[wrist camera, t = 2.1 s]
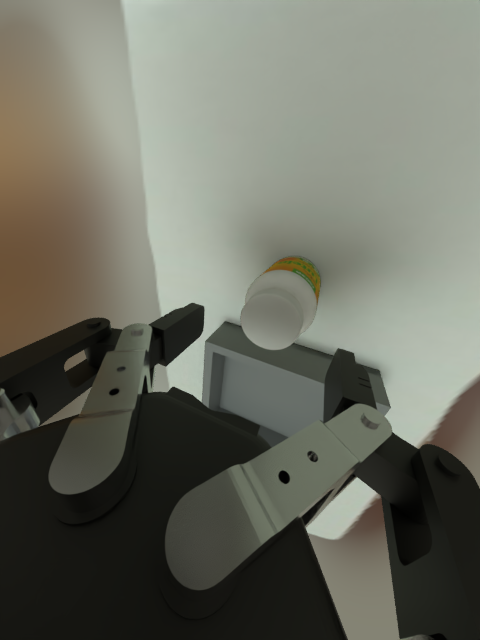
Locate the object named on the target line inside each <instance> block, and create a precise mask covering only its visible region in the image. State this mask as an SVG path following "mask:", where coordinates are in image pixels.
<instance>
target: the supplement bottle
mask: <svg viewBox="0 0 480 640" xmlns="http://www.w3.org/2000/svg"><path fill="white" fill-rule="evenodd" d="M320 286H321V280H320V275H319V272H318V270H317V268H316V267H315V266H314V265H313V264H312V263H311V262H310V261H308V260H307V259H305V258H302V257H298V256H290V257H285V258H283V259H281V260H279V261H277V262H276V263H275V264H273V265H272V266H271V267H270V268H269V269H267V270H266V271H265V272H264V273H263V274H262V275H260V276H259V277H258V278H257V279H256V280H255V281H254V282H253V283H252V284H251V285H250V287H249V289H248V291H247V294H246V298H245V305H244V307H243V309H242V312H241V326H242V329H243V331H244V333H245V334H246V336H247V337H248V338H249V339H250V340H251V341H252V342H253V343H254V344H256V345H258V346H259V347H262V348H265V349H269V350H280V349H284V348H286V347H288V346H290V345H291V344H293V343H294V342H295V341H296V339H297V338H298V336H299V335H300V334H301V333H303V332H304V331H305V330H306V329H308V327H309V326H310V325H311V323H312V322H313V320H314V317H315V314H316V310H317V304H318V298H319V292H320Z"/></svg>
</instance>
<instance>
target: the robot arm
mask: <svg viewBox="0 0 480 640" xmlns="http://www.w3.org/2000/svg"><path fill="white" fill-rule="evenodd" d="M203 327H204V306H202V305H198V304H195V303H190V304H189V305H187V306H185V307H184V308H179V309H175V310H173V311H172V312H170V313H169V314H166V315H165V316H164V317H161V318H160V319H158V320H156V321H154V322H152V323H151V324H149V325H147V324H141V323H137V324H132V325H129V326H127V327H125V328H124V329H123V330H122V329H114V328H111V325H110V321H109V320H108V319H105V318H91V319H87V320H84V321H82V322H79V323H77V324H75V325H73V326H70V327H68V328H66V329H63V330H61V331H59V332H57V333H55V334H52V335H50V336H48V337H46V338H43V339H41V340H39V341H36V342H34V343H32V344H30V345H27V346H25V347H23V348H21V349H18V350H16V351H14V352H11V353H9V354H7V355H5V356H2V357H0V640H348V639H347V636H346V634H345V631H344V628H343V626H342V623H341V621H340V618H339V615H338V613H337V610H336V607H335V605H334V602H333V599H332V597H331V594H330V591H329V589H328V586H327V584H326V581H325V578H324V576H323V573H322V570H321V568H320V565H319V563H318V560H317V557H316V555H315V552H314V549H313V547H312V544H311V542H310V539H309V536H308V533H307V531H306V527H307V526H308V525H309V524H310V523H311V522H312V521H313V520H314V519H315V518H316V517H317V516H318V515H319V514H320V513H321V512H322V511H323V510H324V509H325V507H326V506H327V505H328V504H329V503H330V502H331V501H332V500H333V499H335V498H336V497H337V496H338V495H339V494H340V493H341V492H342V491H343V490H344V489H345V488H346V487H347V486H348V485H349V484H350V483H351V482H352V481H353V480H354V479H355V478H357V477H358V478H359V479H360V480H362V481H363V482H364V483H366V484H367V485H368V486H369V487H371V488H372V489H373V490H375V491H376V492H377V493H378V494H380V495H381V498H382V505H383V513H384V521H385V529H386V536H387V544H388V551H389V560H390V567H391V574H392V582H393V591H394V598H395V606H396V614H397V621H398V629H399V637H400V640H480V488H479V486H478V484H477V482H476V480H475V478H474V477H473V475H472V474H471V472H470V471H469V470H468V469H467V467H465V465H464V464H463V463H462V462H461V461H459V460H458V459H457V458H456V457H455V456H453V455H452V454H451V453H449V452H448V451H446V450H444V449H442V448H440V447H437V446H435V445H431V444H425V445H423V446H422V447H421V448H420V449H417V448H416V447H414V446H413V445H411V444H409V443H408V442H406V441H404V440H403V439H401V438H400V437H398V436H397V435H395V434H394V433H393V432H392V427H391V425H390V423H389V421H388V420H387V419H386V417H385V416H384V415H383V414H381V413H380V412H379V411H378V410H377V406H376V402H375V398H374V394H373V390H372V389H371V388H372V386H371V383H370V378H369V374H368V373H367V371H366V370H365V369H364V367H363V366H362V365H359V364H356V362H355V356H354V353H352V352H349V351H346V350H343V349H339V348H338V349H337V351H336V353H335V355H334V357H333V359H332V361H331V364H330V366H329V368H328V370H327V373H326V376H325V384H324V413H323V422H322V421H321V420H318V421H316V422H314V423H312V424H311V425H309V426H307V427H306V428H304V429H302V430H301V431H299V432H297V433H296V434H294V435H292V436H291V437H289V438H287V439H286V440H284V441H282V442H281V443H279V444H277V445H276V446H274V447H271V446H270V445H269V443H268V442H267V441H266V440H265V439H264V438H263V437H262V436H260V435H259V434H258V432H259V429H260V425H258V424H256V423H254V422H251V421H249V420H247V419H245V418H242V417H240V416H238V415H234V414H229V413H224V412H219V411H214V410H211V409H209V408H208V407H207V406H205V405H204V404H203V403H202V402H200V401H199V400H198V399H197V398H195V397H194V396H193V395H191V394H189V393H187V392H184V391H182V390H180V389H178V388H175V387H172V388H171V389H170V390H169V391H168V392H153V387H154V377H155V365H156V364H158V363H159V364H161V365H163V366H167V365H168V364H169V363H171V362H172V361H173V360H174V359H175V358H176V357H177V356H178V355H180V354H181V353H182V352H183V351H184V350H185V349H186V348H187V347H189V346H190V345H191V344H192V343H193V342H194V341H195V340H196V339H198V338H199V337H200V336H201V334H202V332H203ZM82 350H84V351H85V355H86V358H87V359H85V360H84V361H82V362H81V363H79V364H77V365H76V366H74V367H73V368H71V369H69V370H68V371H66V372H65V370H64V364H65V362H66V361H67V359H69V358H70V357H72V356H74V355H75V354H77V353H79V352H81V351H82ZM90 387H92V388H91V390H90V392H89V394H88V397H87V399H86V401H85V404H84V406H83V408H82V411H81V413H80V414H78V415H75V416H72V417H69V418H65V419H62V420H59V421H56V422H53V423H50V424H47V425H43V426H40V425H41V424H42V423H44V422H45V421H46V420H48V419H49V418H50V417H52V416H53V415H54V414H56V413H57V412H58V411H60V410H61V409H62V408H63V407H65V406H66V405H68V404H69V403H70V402H72V401H73V400H74V399H75V398H77V397H78V396H80V395H81V394H82V393H84V392H85V391H86V390H88V389H89V388H90ZM38 426H40V427H38Z"/></svg>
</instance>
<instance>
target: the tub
mask: <svg viewBox="0 0 480 640" xmlns="http://www.w3.org/2000/svg"><path fill="white" fill-rule="evenodd" d="M333 357H334V356H332V355H329V354H325V353H322V352H319V351H316V350H313V349H310V348H307V347H303V346H300V345H297V344H294V343H293V344H291V345H290V346H288V347H286V348H284V349H280V350H269V349H265V348H262V347H259V346H258V345H256V344H254V343H253V342H252V341H251V340H250V339H249V338H248V337H247V336H246V334H245V333H244V331H243V329H242V327H241V326H238V325H235V324H231V323H228V322H224V323H223V324H222V325H221V326H220V327H219V328H218V329H217V330H216V331H215V332H214V333H213V334H212V335H211V336H210V337H209V338H208V339H207V340H206V341H205V354H204V373H203V393H202V403H203V404H204V405H205V406H207V407H208V408H209V409H211V410H214V411H219V412H224V413H229V414H234V415H238V416H240V417H242V418H245V419H247V420H249V421H251V422H254V423H256V424H258V425H260V429H259V432H258V434H259V435H260V436H262V437H263V438H264V439H265V440H266V441H267V442H268V443H269V445H270V446H271V447H274V446H276V445H277V444H279V443H281V442H282V441H284V440H286V439H287V438H289V437H291V436H292V435H294V434H296V433H297V432H299V431H301V430H302V429H304V428H306V427H307V426H309V425H311V424H312V423H314V422H316V421H318V420H321V421H322V422H323V413H324V384H325V376H326V373H327V370H328V368H329V366H330V364H331V361H332V359H333ZM356 364H357V363H356ZM359 365H360V364H359ZM362 366H363V365H362ZM363 367H364V369H365V370H366V371H367V373H368V374H369V378H370V383H371V386H372V388H371V389H372V390H373V394H374V398H375V402H376V406H377V410H378V411H379V412H380V413H381V414H383V415H384V416H385V415H386V413H387V412H388V411H389V409H390V408H391V407H390V403H389V400H388V397H387V394H386V390H385V387H384V384H383V381H382V377H381V374H380V371H379V370H375V369H372V368H369V367H366V366H363Z"/></svg>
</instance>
